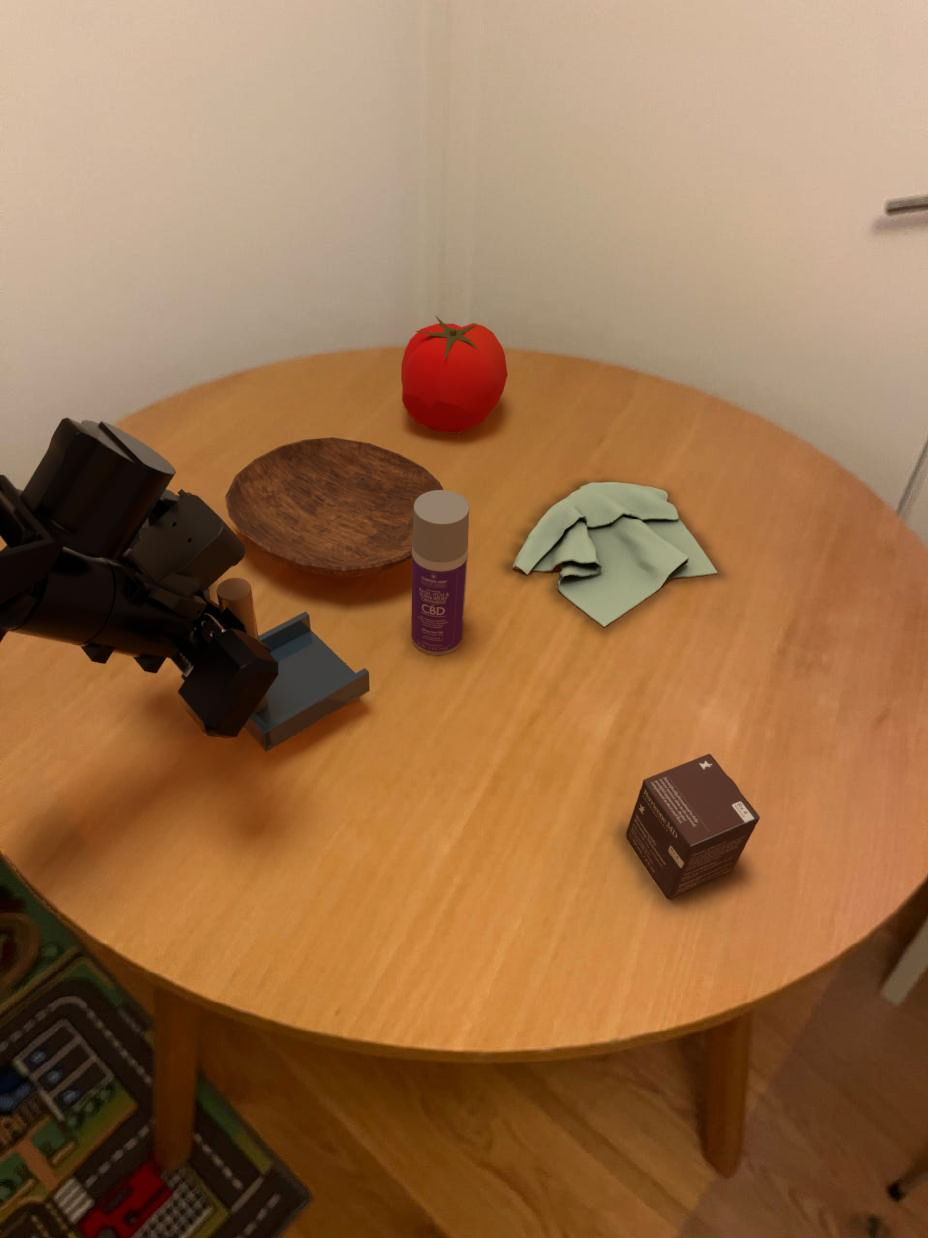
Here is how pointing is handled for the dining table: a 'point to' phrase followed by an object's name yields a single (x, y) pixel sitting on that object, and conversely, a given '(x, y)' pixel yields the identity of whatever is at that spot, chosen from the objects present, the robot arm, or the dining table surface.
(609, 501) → the cloth
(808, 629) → the dining table surface
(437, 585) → the container
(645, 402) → the dining table surface
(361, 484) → the bowl
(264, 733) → the tray with wooden peg
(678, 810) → the box
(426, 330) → the tomato
